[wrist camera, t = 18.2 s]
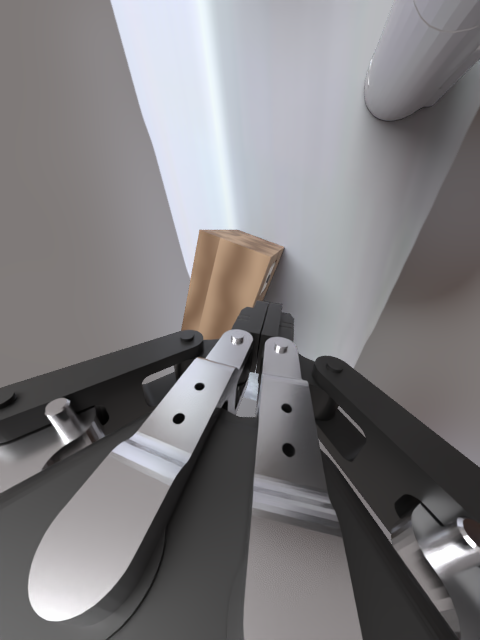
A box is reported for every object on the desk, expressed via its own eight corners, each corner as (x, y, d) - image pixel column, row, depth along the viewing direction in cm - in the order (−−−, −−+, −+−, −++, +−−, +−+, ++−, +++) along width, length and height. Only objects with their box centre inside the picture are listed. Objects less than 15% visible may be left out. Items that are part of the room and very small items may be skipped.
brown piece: (284, 247, 38) (271, 257, 24) (251, 329, 48) (228, 370, 34) (237, 229, 39) (199, 229, 25) (214, 313, 49) (178, 346, 35)
